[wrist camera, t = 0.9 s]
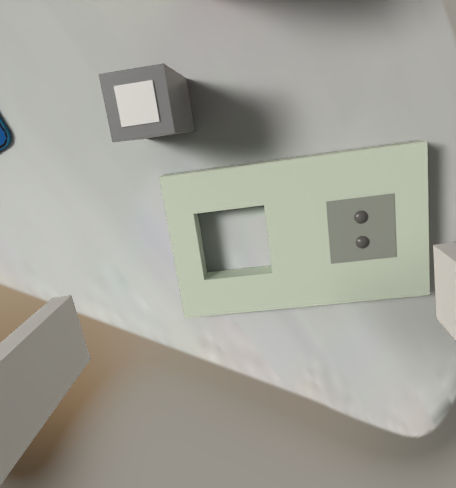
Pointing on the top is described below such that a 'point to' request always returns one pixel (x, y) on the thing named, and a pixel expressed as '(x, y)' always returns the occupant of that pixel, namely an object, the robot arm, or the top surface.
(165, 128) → the block
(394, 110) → the top surface
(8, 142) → the smartphone
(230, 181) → the outlet plate
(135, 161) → the top surface
